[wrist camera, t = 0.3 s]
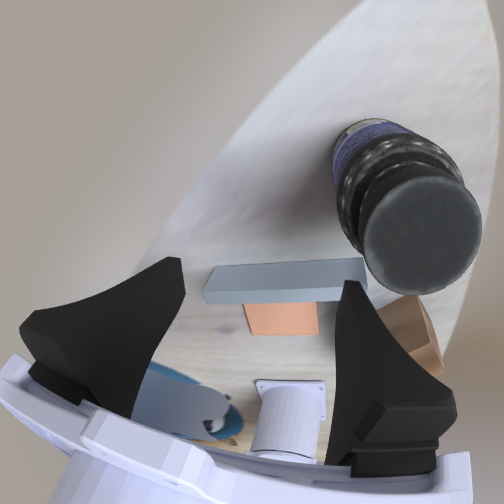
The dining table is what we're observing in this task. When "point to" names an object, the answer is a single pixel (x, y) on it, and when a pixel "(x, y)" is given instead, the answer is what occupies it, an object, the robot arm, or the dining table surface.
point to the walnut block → (413, 332)
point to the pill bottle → (404, 207)
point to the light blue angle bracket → (283, 292)
